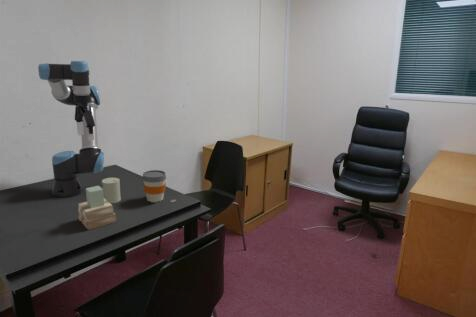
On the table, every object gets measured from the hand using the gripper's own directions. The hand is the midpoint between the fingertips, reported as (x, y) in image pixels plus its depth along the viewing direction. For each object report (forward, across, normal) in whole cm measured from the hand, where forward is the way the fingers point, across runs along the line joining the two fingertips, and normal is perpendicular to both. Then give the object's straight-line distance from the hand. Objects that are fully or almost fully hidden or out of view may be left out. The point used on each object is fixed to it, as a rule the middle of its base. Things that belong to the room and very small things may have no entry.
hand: (85, 137), depth 172 cm
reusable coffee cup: (+37, +13, +30) cm, 49 cm away
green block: (+28, +20, -5) cm, 34 cm away
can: (+37, 0, +11) cm, 39 cm away
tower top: (+33, +19, -5) cm, 38 cm away
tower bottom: (+37, +19, -5) cm, 42 cm away
